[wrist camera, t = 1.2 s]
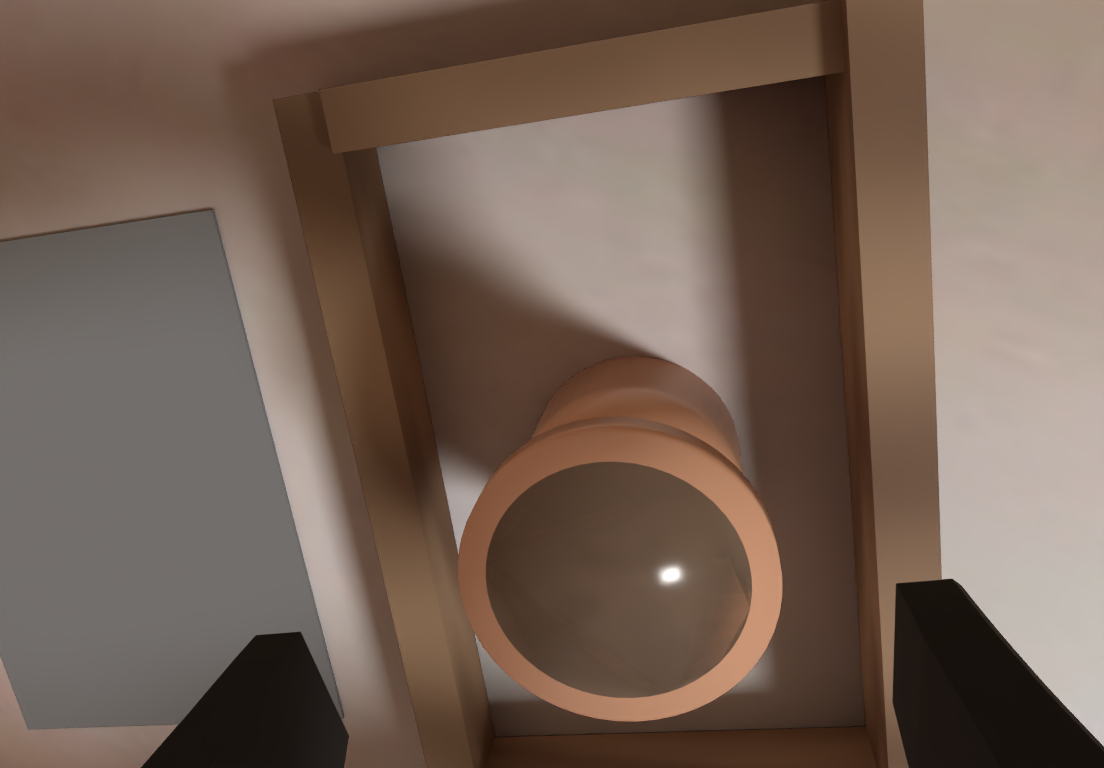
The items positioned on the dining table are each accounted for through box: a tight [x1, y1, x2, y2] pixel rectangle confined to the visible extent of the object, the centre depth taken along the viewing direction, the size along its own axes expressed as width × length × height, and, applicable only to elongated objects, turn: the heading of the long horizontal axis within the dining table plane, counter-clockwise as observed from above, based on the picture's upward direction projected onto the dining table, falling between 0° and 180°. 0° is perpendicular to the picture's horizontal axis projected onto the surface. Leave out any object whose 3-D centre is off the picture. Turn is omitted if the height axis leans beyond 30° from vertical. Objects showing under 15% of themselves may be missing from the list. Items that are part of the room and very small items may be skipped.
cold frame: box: [273, 0, 942, 768], centre depth 20 cm, size 18×12×3 cm, turn 9°
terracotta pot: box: [458, 356, 782, 721], centre depth 18 cm, size 6×6×6 cm
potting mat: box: [0, 210, 344, 730], centre depth 24 cm, size 14×10×1 cm
